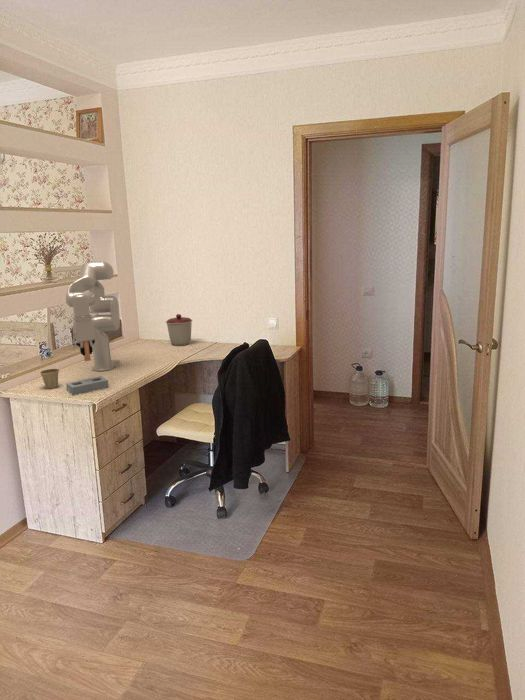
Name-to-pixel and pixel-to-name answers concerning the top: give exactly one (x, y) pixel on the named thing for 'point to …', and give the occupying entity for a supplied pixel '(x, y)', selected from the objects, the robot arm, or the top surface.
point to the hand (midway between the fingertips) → (86, 354)
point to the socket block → (87, 385)
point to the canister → (179, 330)
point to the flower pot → (50, 377)
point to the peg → (86, 351)
